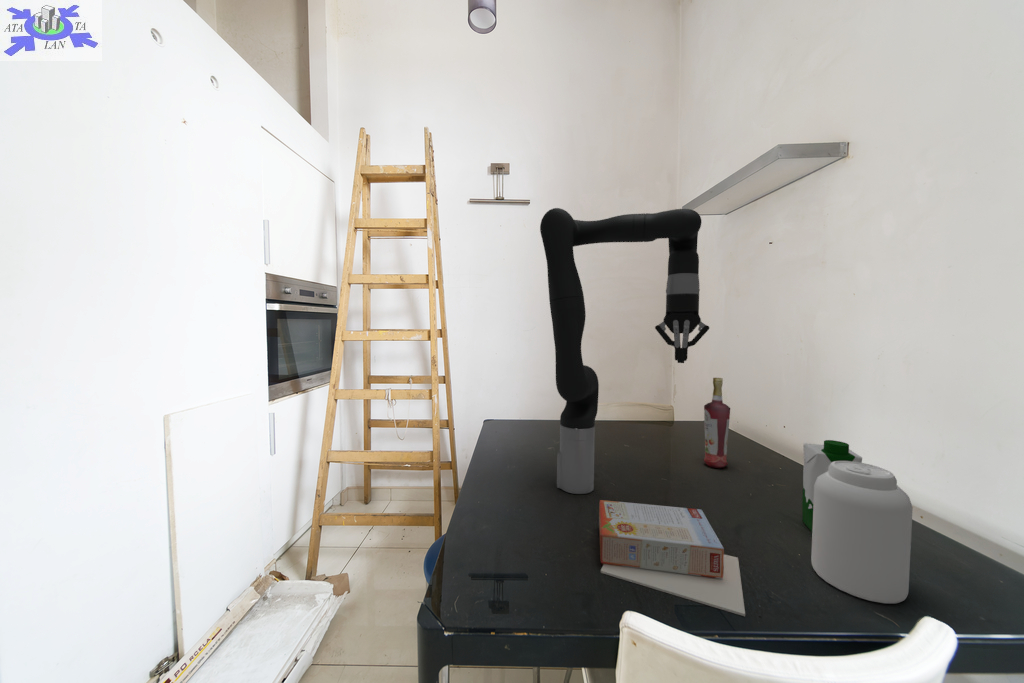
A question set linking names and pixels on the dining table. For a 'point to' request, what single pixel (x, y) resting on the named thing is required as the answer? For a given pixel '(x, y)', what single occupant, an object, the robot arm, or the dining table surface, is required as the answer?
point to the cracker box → (659, 539)
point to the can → (862, 532)
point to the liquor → (716, 428)
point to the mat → (690, 584)
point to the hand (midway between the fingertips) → (680, 362)
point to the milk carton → (820, 470)
